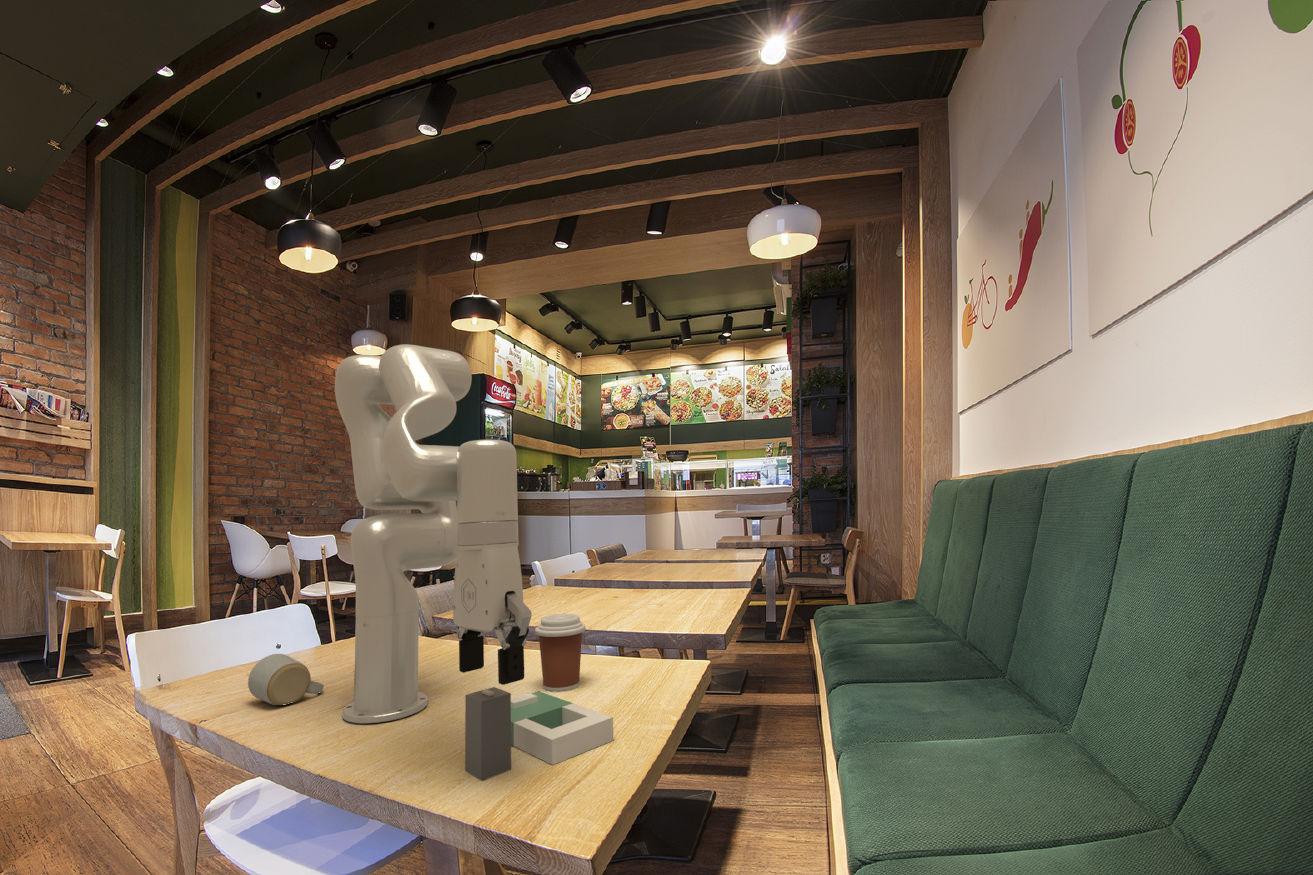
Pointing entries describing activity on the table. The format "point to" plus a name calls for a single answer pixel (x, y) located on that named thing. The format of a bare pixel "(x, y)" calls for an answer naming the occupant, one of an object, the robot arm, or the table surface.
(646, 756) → the table surface
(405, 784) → the table surface
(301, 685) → the ceramic mug
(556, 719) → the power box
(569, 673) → the coffee cup
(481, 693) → the grey square peg
